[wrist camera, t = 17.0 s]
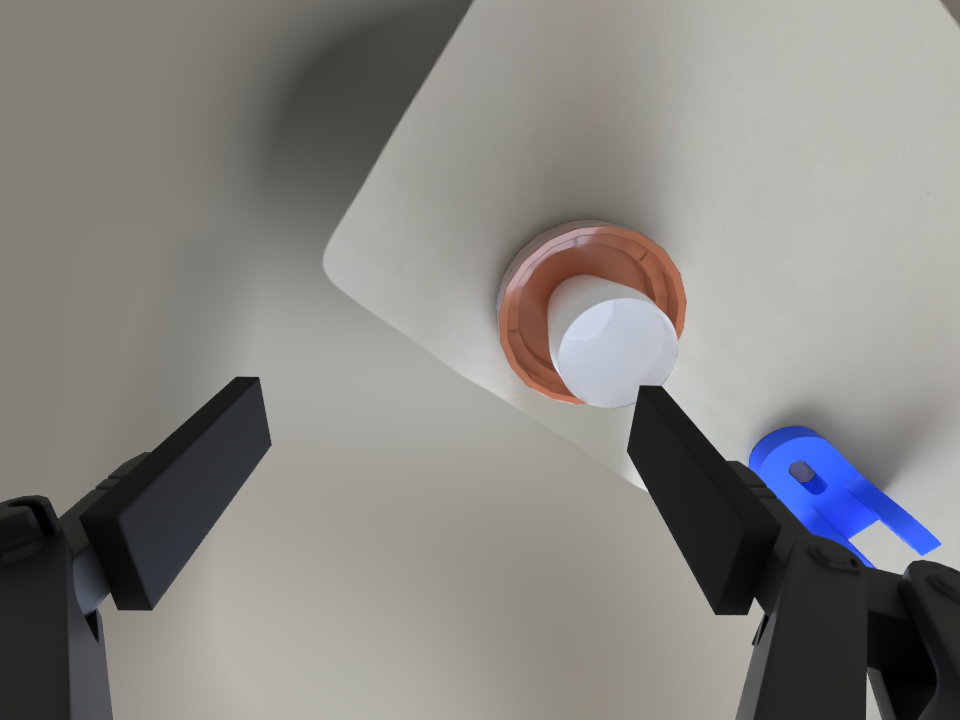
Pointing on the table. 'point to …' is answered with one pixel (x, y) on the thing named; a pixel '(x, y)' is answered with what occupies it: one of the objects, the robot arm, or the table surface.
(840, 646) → the robot arm
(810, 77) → the table surface
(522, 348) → the bowl
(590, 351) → the cup
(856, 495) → the bracket
